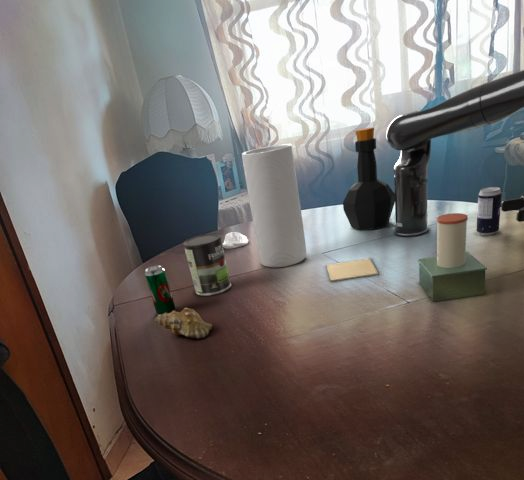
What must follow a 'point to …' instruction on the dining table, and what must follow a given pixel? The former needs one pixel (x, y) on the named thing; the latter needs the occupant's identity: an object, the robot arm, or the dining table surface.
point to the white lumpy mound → (234, 240)
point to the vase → (275, 205)
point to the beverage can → (488, 210)
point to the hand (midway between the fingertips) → (509, 211)
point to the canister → (451, 240)
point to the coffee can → (207, 264)
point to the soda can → (159, 289)
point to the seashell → (185, 323)
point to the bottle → (368, 188)
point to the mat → (351, 269)
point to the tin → (452, 279)
